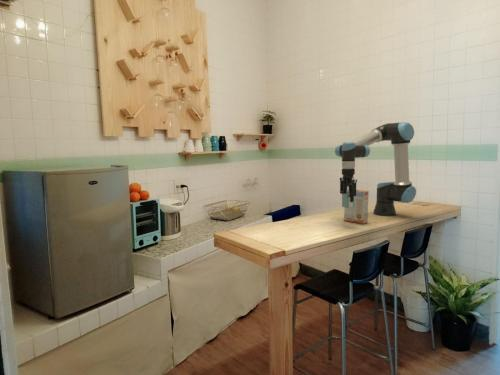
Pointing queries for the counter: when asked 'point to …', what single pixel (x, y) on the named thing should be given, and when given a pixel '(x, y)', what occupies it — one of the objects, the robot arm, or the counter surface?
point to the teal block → (346, 200)
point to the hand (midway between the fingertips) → (347, 206)
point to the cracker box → (358, 208)
